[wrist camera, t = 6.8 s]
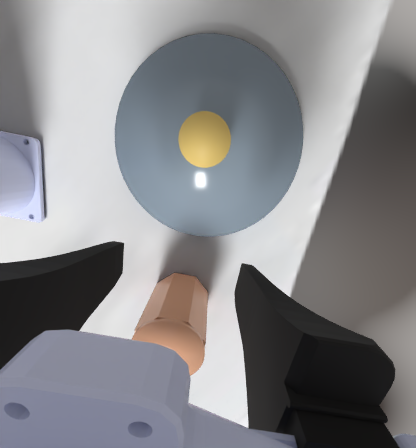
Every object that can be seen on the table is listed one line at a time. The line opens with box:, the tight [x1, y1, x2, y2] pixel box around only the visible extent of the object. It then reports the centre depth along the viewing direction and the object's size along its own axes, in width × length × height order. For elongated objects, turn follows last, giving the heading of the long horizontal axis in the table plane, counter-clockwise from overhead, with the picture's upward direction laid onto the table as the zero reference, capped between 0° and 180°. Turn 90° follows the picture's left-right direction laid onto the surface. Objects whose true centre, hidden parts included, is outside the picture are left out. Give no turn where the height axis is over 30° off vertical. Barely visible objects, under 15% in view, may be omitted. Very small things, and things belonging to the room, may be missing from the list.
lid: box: [115, 33, 303, 237], centre depth 17 cm, size 16×16×1 cm
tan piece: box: [132, 273, 208, 375], centre depth 19 cm, size 6×6×7 cm
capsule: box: [178, 111, 231, 168], centre depth 14 cm, size 3×3×5 cm
